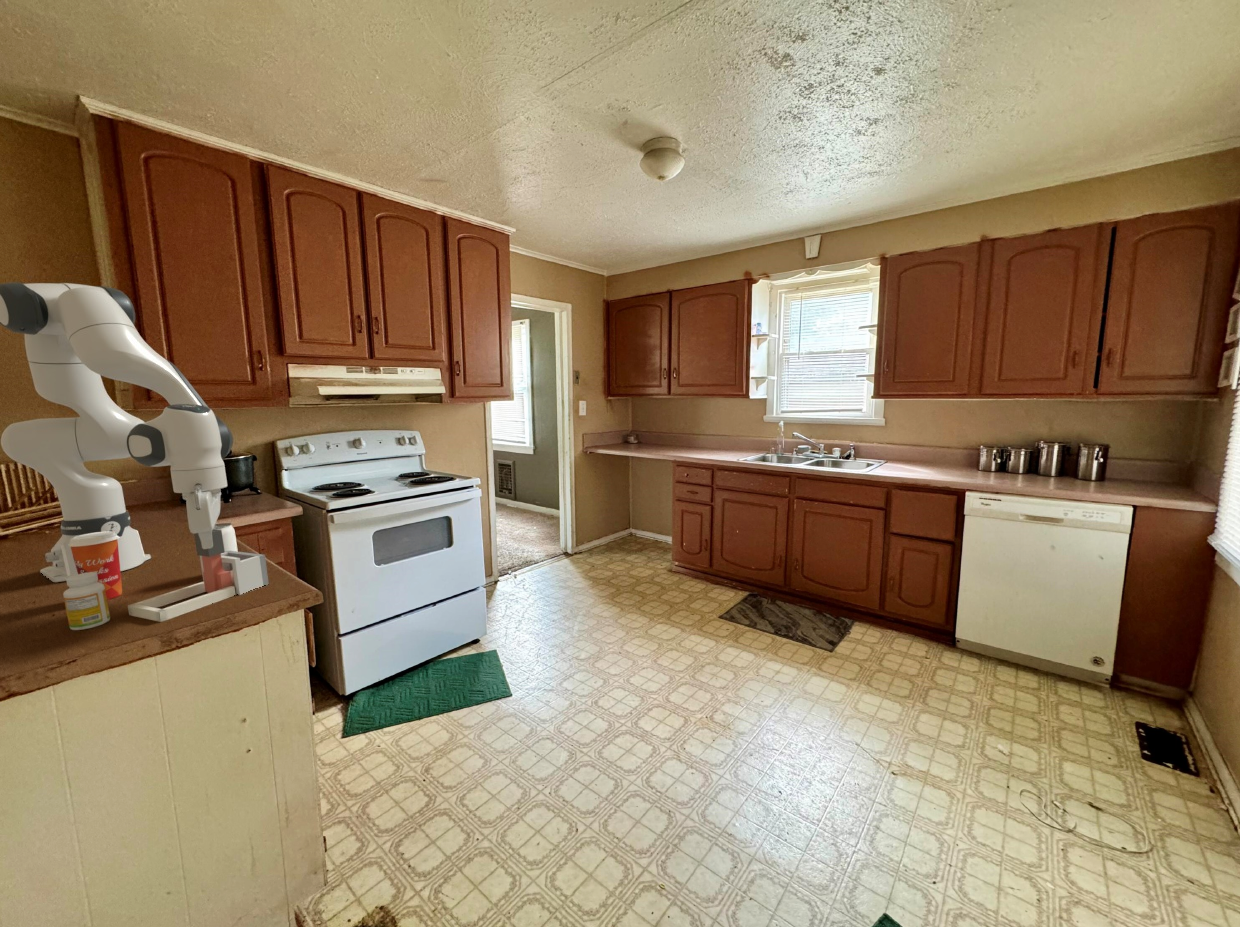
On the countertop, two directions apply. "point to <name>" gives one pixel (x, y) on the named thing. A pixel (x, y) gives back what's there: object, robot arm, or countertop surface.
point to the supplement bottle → (85, 602)
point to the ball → (232, 578)
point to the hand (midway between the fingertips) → (209, 544)
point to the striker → (213, 563)
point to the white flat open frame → (152, 612)
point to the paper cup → (99, 559)
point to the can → (227, 536)
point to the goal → (244, 570)
